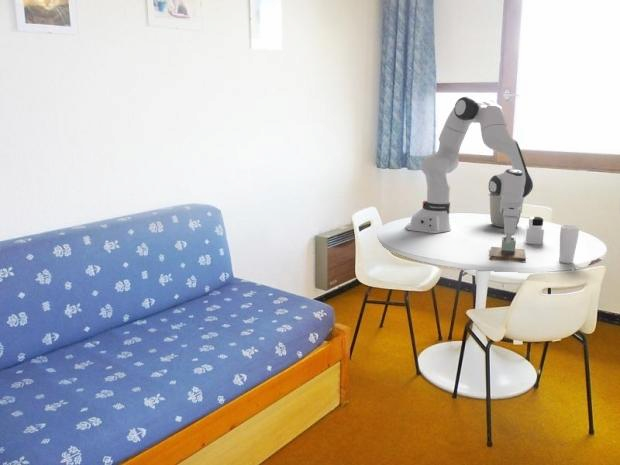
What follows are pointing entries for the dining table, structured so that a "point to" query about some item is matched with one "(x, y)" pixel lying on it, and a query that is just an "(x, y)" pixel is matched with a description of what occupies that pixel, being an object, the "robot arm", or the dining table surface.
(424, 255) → the dining table surface
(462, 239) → the dining table surface
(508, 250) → the sleeve
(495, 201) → the canister
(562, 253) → the drinking glass
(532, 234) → the medicine bottle
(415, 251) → the dining table surface
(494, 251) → the pin board
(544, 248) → the dining table surface
